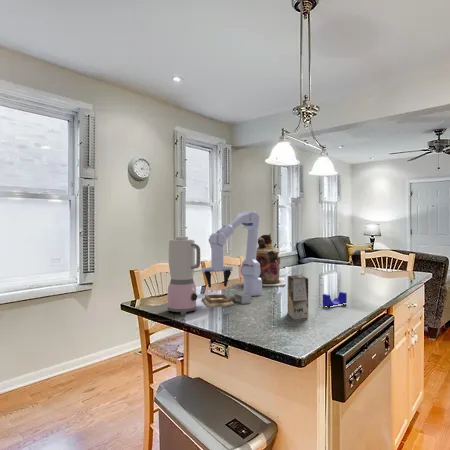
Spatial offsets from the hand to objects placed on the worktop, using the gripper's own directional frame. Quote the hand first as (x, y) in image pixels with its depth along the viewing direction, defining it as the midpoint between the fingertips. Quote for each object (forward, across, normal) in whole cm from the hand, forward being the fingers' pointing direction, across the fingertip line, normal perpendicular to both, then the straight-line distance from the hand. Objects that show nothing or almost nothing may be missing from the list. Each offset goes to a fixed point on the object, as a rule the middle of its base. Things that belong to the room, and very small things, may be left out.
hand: (217, 286), depth 163 cm
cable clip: (+8, -49, +21) cm, 54 cm away
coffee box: (+8, -25, +33) cm, 42 cm away
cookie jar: (+8, -43, -43) cm, 62 cm away
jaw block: (+8, -12, +2) cm, 14 cm away
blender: (+8, +18, +13) cm, 23 cm away
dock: (+8, 0, 0) cm, 8 cm away
